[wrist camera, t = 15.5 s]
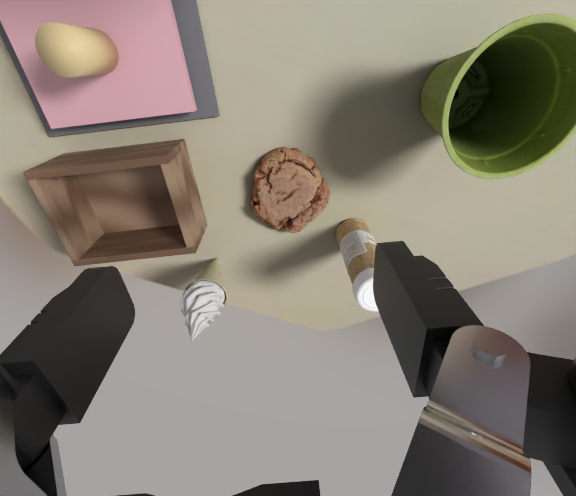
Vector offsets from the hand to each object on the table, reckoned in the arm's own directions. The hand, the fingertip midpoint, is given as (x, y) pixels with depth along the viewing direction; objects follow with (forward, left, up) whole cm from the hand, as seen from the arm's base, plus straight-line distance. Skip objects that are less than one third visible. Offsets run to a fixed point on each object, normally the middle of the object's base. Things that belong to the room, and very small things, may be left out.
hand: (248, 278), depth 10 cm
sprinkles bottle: (+16, +9, -30) cm, 35 cm away
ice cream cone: (+18, -10, -30) cm, 36 cm away
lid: (-8, -15, -29) cm, 34 cm away
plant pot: (0, +20, -30) cm, 36 cm away
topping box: (+7, -17, -30) cm, 35 cm away
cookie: (+9, +1, -30) cm, 31 cm away
